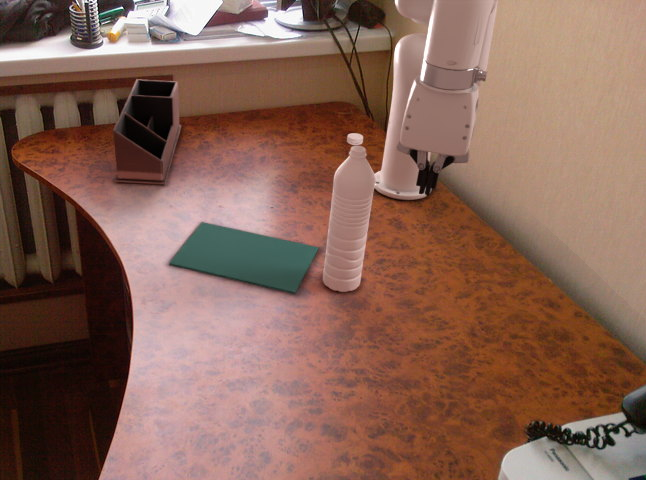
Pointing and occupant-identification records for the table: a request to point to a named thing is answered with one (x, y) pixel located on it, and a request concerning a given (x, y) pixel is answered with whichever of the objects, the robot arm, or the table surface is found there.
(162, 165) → the desk organizer
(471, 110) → the robot arm
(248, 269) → the mat
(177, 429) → the table surface
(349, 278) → the water bottle
